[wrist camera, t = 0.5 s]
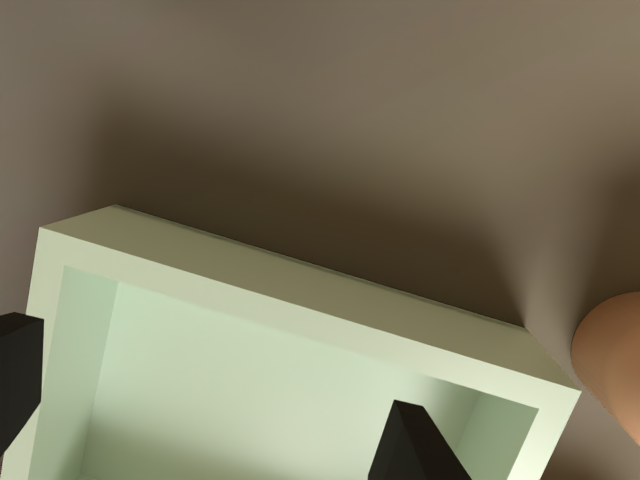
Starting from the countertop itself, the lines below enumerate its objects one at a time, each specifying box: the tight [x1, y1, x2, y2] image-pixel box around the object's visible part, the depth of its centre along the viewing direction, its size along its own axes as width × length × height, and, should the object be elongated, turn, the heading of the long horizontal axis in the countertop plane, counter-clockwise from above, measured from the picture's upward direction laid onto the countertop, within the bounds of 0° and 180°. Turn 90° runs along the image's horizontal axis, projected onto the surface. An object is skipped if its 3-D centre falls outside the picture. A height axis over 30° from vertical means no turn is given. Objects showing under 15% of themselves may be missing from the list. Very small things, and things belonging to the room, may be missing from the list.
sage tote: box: [0, 204, 582, 480], centre depth 19 cm, size 14×18×5 cm
